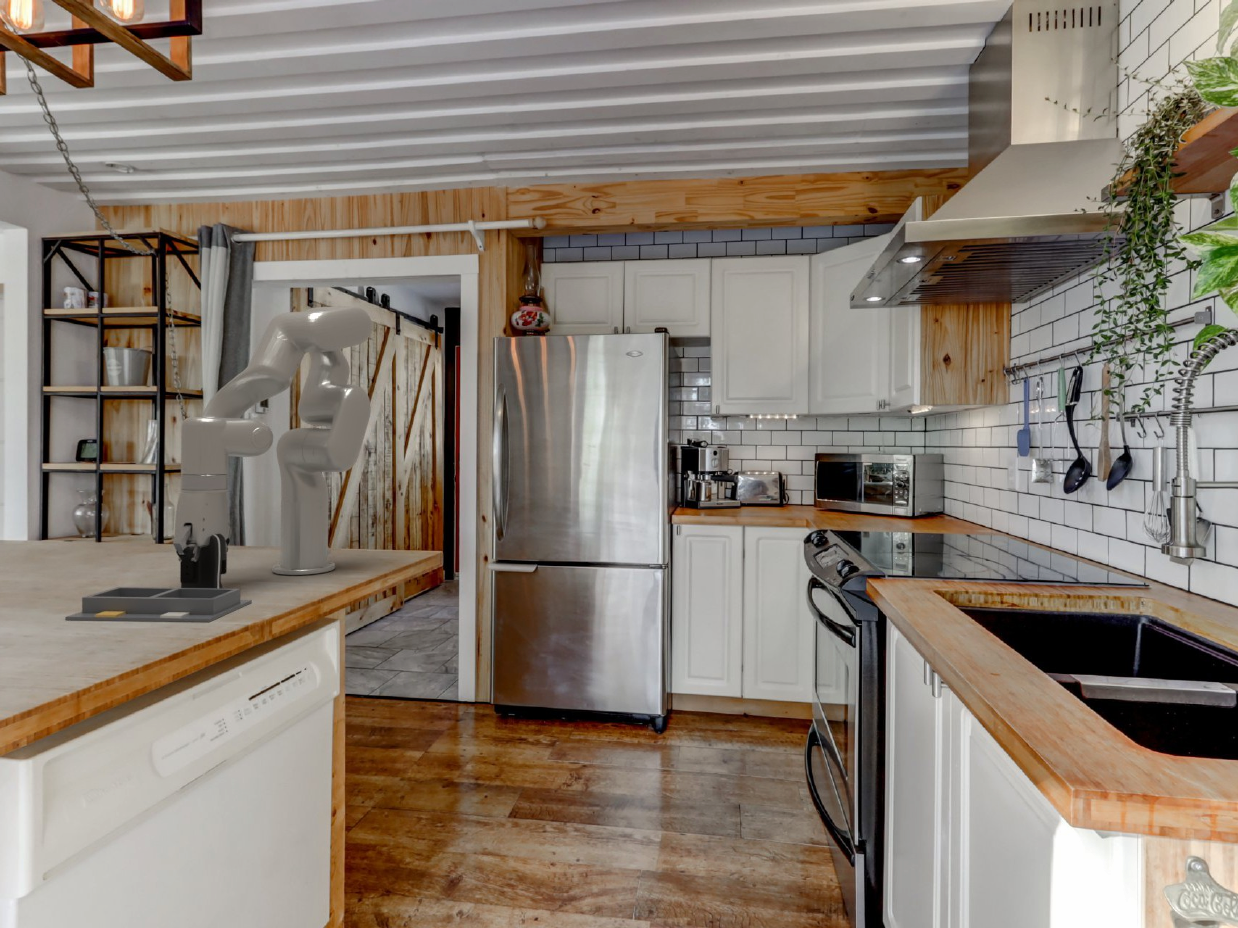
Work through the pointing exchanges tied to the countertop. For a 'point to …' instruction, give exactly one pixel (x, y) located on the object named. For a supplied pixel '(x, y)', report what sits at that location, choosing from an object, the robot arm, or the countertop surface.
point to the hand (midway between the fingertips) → (204, 577)
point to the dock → (160, 604)
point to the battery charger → (210, 563)
